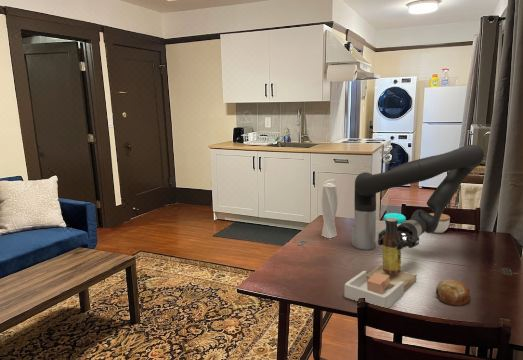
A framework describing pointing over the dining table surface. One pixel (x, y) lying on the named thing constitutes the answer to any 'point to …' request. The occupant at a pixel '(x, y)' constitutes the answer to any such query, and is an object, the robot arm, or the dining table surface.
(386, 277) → the tan block
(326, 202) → the skyscraper
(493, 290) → the dining table surface
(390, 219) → the sauce bottle
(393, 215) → the teal rounded shape
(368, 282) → the tile
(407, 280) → the board
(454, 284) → the bread roll
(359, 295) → the box
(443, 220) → the lidded jar
